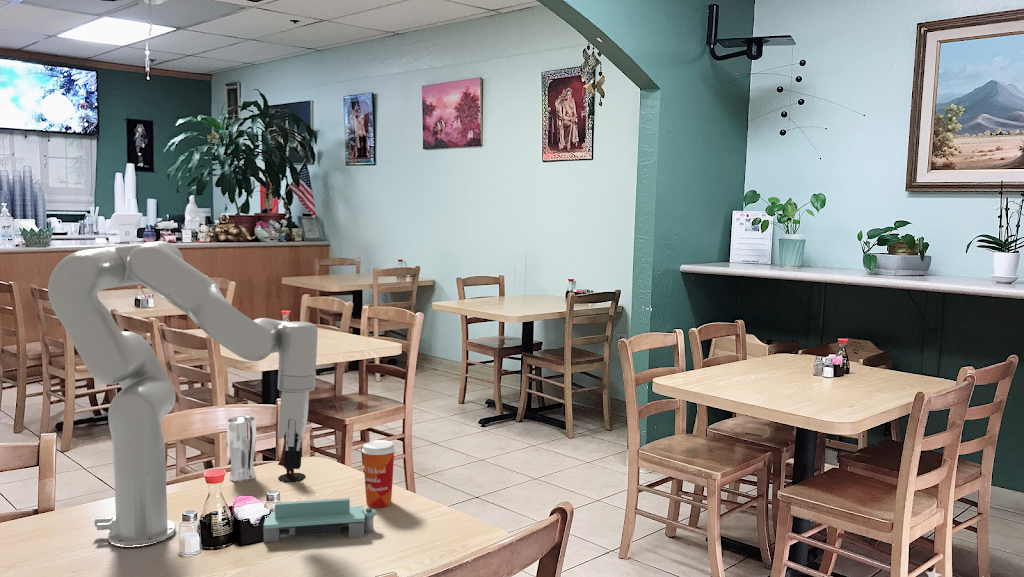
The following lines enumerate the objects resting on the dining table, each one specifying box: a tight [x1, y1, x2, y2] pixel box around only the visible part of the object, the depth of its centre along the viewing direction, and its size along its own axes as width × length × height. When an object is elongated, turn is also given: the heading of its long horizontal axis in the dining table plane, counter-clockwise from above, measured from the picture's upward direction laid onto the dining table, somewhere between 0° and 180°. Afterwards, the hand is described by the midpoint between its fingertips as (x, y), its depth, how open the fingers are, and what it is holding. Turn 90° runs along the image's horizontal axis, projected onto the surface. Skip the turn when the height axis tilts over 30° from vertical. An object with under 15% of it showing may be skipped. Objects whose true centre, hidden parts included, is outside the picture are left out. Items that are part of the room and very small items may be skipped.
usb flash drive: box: [289, 523, 342, 536], centre depth 165 cm, size 10×3×2 cm, turn 96°
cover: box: [263, 497, 377, 529], centre depth 164 cm, size 22×7×4 cm, turn 102°
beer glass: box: [226, 415, 257, 482], centre depth 197 cm, size 7×7×15 cm
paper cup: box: [361, 439, 397, 509], centre depth 181 cm, size 8×8×14 cm
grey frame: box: [262, 517, 374, 543], centre depth 165 cm, size 22×7×3 cm, turn 99°
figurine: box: [277, 433, 306, 483], centre depth 197 cm, size 7×7×15 cm
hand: (292, 467), depth 164 cm, fingers closed
